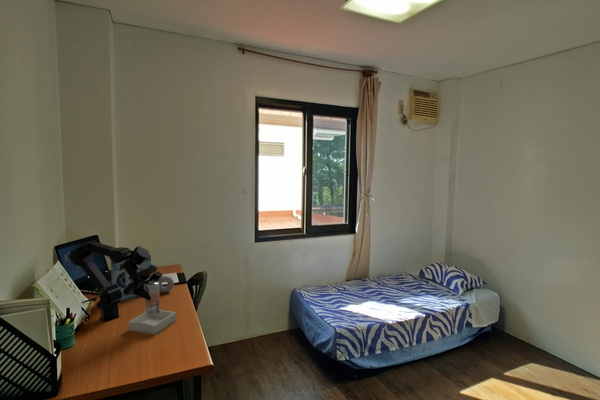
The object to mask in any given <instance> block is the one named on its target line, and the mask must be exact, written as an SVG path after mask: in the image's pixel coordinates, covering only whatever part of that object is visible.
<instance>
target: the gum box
mask: <svg viewBox="0 0 600 400" xmlns="http://www.w3.org/2000/svg"><path fill="white" fill-rule="evenodd" d="M151 257H152V254H151V253H149V256H148V257H147V258H146V260H145V261H144V262H143V263H142V264H141V265H139V266H140V267H141V268H143V267H144V268H145V269H147V268H149V265H152V259H151ZM128 260H129V259H128ZM125 261H126V260H125ZM125 261H122V262H119V263H116V262H114V261H112V260H110V269H111V270H110V272H111V273H110V274H111V284H112V285H113V284H117V285H118V287H119V288H120V289H121V292H122V298H121V300H120V302H121V301H122V302H123V301H126V300H129V299H133V298H138V297H139V296H137V295H132V293H133V291H132V293H131V294H129V295H127V296H126V295H125V294H124V289H125V288H126V287H127V285H128V284H129V283H132V282H134V281H133V280H132V279H130V280H129V277H130V276H129V275H128V273H127V272H126V271H125V270H124V269H123V270H119V269H120V264H123V263H124V262H125ZM148 278H150V277H148ZM144 289H145V291H146V285H145V284H144Z"/></svg>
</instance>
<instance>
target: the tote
mask: <svg viewBox="0 0 600 400" xmlns="http://www.w3.org/2000/svg"><path fill="white" fill-rule="evenodd" d="M176 321H177V312H176V311H170V310H164V309H160V313H159V314H157V315H153V316H148V315H146V311H145V312H143V313H141V314H140V315H138V316H135V317H134V318H132V319H130V320H129V321H127V322H128V331H131V332H132V331H133V332H136V333H141V334H142V333H143V334H146V335H147V334H148V335H153V336H156V335H157V334H159V333H160V332H162V331H163V330H164V329H166V328H167V327H169V326H170V325H172V324H173V323H175V322H176Z"/></svg>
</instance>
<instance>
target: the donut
mask: <svg viewBox="0 0 600 400" xmlns="http://www.w3.org/2000/svg"><path fill="white" fill-rule="evenodd" d="M158 282H159V290H160V293H163V294H164V293H168V292H170V291H171V290H172V289H173V288H174V285H175V281H174V279H173V277H171V276H169V275H162V276H161V278H160V279H159V280H158ZM164 282H166V283H167V285H165V286H163V285H162V284H163V283H164Z"/></svg>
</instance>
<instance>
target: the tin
mask: <svg viewBox="0 0 600 400" xmlns="http://www.w3.org/2000/svg"><path fill="white" fill-rule="evenodd" d="M145 285H146V292H147V293H148V295H149V296H150V298H151V300H147V299H145V312H146V315H148V316H153V315H157V314H159V313H160V310H161V309H160V307H161V305H160V303H161V301H160V297H161V296H160V295H161V294H160V293H161V292H160V291H159V282H158V281H150V282H147V283H146V284H145Z"/></svg>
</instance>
